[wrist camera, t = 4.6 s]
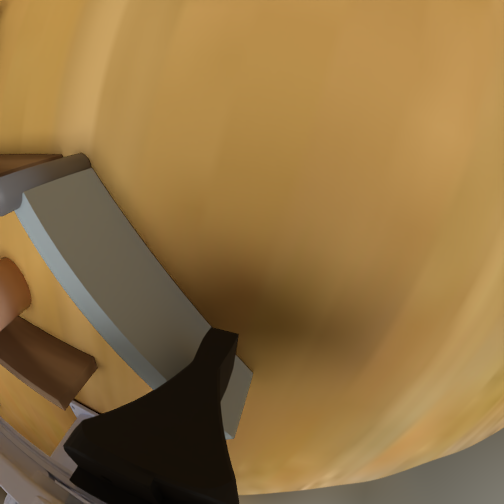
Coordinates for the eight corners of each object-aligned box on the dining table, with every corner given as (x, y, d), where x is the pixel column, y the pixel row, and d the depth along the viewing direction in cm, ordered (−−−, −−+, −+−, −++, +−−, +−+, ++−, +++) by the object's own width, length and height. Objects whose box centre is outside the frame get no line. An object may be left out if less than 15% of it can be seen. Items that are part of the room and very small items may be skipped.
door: (254, 373, 15) (231, 452, 10) (234, 379, 15) (207, 454, 11) (81, 147, 11) (-5, 171, 7) (67, 166, 12) (-13, 195, 7)
